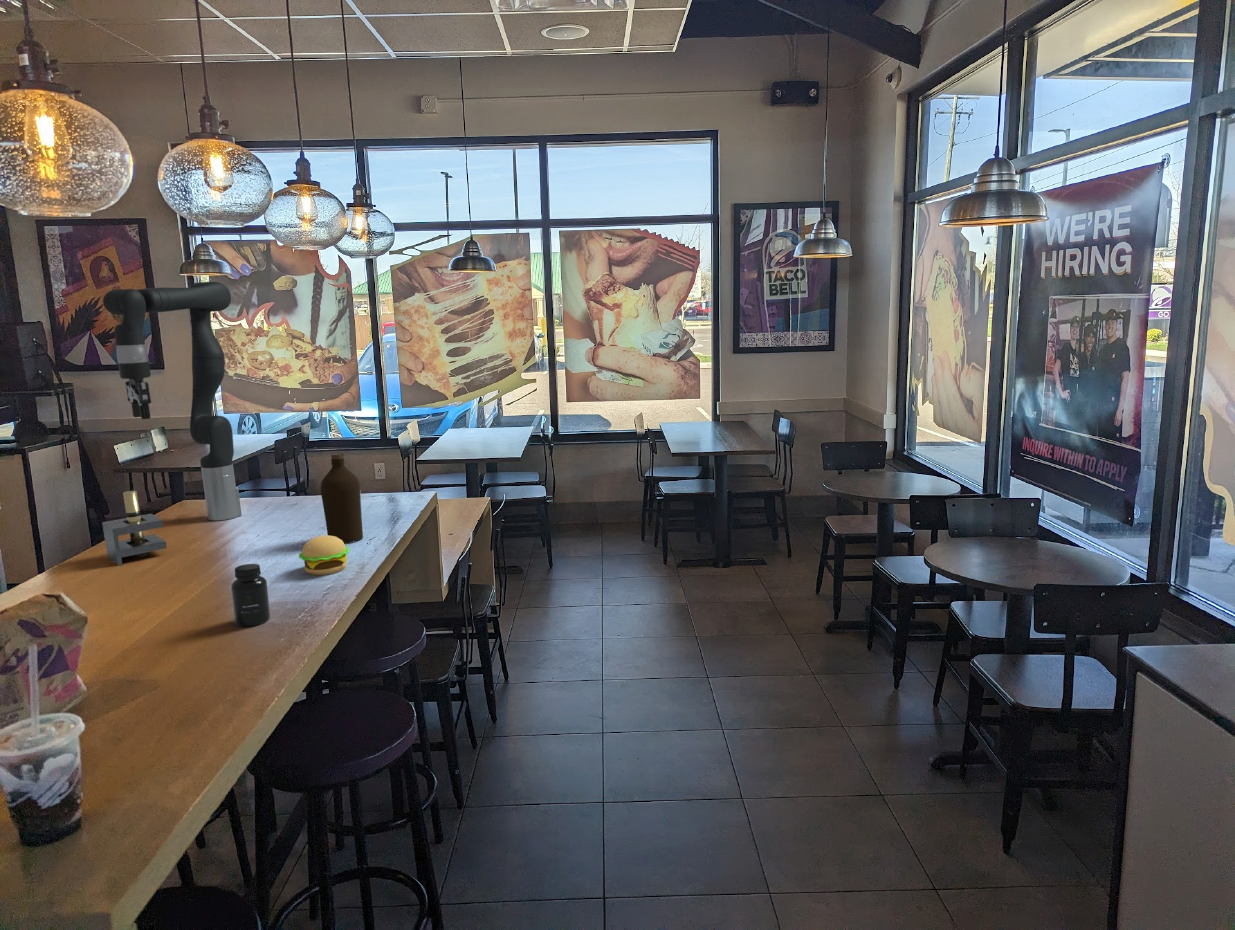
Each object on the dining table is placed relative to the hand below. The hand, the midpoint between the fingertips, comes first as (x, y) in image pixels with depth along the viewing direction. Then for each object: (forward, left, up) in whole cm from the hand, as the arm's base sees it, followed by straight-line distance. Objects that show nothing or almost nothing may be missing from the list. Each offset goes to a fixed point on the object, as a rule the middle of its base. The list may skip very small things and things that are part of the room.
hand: (141, 417), depth 230 cm
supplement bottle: (+6, +90, -36) cm, 97 cm away
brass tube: (+9, +15, -36) cm, 40 cm away
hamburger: (-20, +68, -36) cm, 80 cm away
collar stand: (+9, +15, -36) cm, 40 cm away
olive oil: (-36, +46, -36) cm, 69 cm away
